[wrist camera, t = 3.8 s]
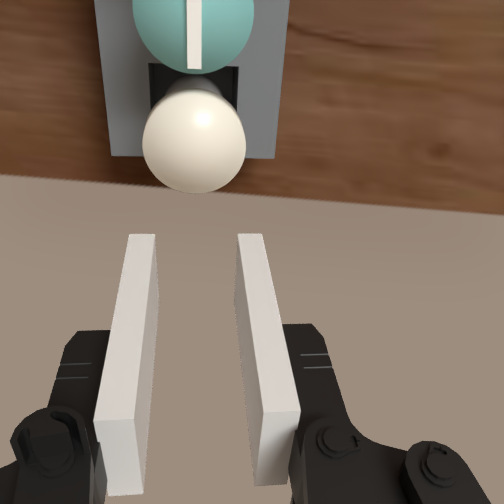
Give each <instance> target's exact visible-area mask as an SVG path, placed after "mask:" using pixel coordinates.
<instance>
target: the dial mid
mask: <svg viewBox="0 0 504 504" xmlns="http://www.w3.org/2000/svg"><path fill="white" fill-rule="evenodd" d="M132 4H133V16H134V21H135V25H136V28H137V30H138V33H139V35H140V37H141V39H142V41H143V43H144V44H145V46H146V47H147V49H148V50H149V51H150V52H151V53H152V54H153V55H154V56H155V57H156V58H157V59H158V60H159V61H161V62H162V63H163V64H165V65H166V66H168V67H170V68H172V69H174V70H177V71H180V72H184V73H189V74H204V73H210V72H213V71H216V70H218V69H220V68H223V67H224V66H226V65H227V64H229V63H230V62H231V61H232V60H234V59H235V58H236V57H237V55H238V54H239V53H240V52H241V51H242V49H243V48H244V46H245V44H246V42H247V40H248V38H249V36H250V33H251V29H252V25H253V19H254V3H253V0H132Z"/></svg>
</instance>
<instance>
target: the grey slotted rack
mask: <svg viewBox="0 0 504 504" xmlns="http://www.w3.org/2000/svg"><path fill="white" fill-rule="evenodd" d="M94 3H95V12H96V21H97V30H98V39H99V48H100V57H101V66H102V75H103V84H104V93H105V102H106V111H107V120H108V129H109V138H110V147H111V155H112V156H144V154H143V148H142V141H143V134H144V129H145V125H146V121H147V118H148V115H149V113H150V111H151V110H152V108H153V107H154V106H155V104H156V103H157V102H158V101H159V100H160V99H162V98H163V97H164V96H165V93H166V91H167V89H168V87H169V86H170V84H171V83H172V82H173V81H175V80H176V79H178V78H179V77H182V76H185V75H189V73H184V72H180V71H177V70H174V69H172V68H170V67H168V66H166V65H165V64H163V63H162V62H161V61H159V60H158V59H157V58H156V57H155V56H154V55H153V54H152V53H151V52H150V51H149V50H148V49H147V47H146V46H145V44H144V43H143V41H142V39H141V37H140V35H139V33H138V30H137V28H136V25H135V21H134V16H133V4H132V0H94ZM253 3H254V19H253V25H252V29H251V33H250V36H249V38H248V40H247V42H246V44H245V46H244V48H243V49H242V51H241V52H240V53H239V54H238V55H237V57H236V58H235V59H234V60H232V61H231V62H230V63H229V64H227V65H226V66H224V67H223V68H220V69H218V70H216V71H213V72H210V73H204V74H196V75H201V76H204V77H207V78H208V79H210V80H212V81H213V82H214V83H215V84H216V85H217V86H218V87H219V89H220V91H221V93H222V95H223V98H225V99H226V100H227V101H228V102H229V103H230V104H231V105H232V106H233V107H234V109H235V110H236V112H237V113H238V115H239V118H240V120H241V123H242V127H243V131H244V135H245V140H246V152H245V158H270V159H274V156H275V145H276V135H277V125H278V114H279V104H280V94H281V83H282V73H283V62H284V52H285V42H286V31H287V21H288V11H289V0H253Z"/></svg>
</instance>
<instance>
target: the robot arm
mask: <svg viewBox="0 0 504 504" xmlns="http://www.w3.org/2000/svg"><path fill="white" fill-rule="evenodd" d="M234 305H235V314H236V323H237V332H238V341H239V350H240V359H241V367H242V377H243V386H244V394H245V404H246V413H247V422H248V431H249V440H250V449H251V457H252V467H253V476H254V484H255V486H266V485H281V484H287V480H288V475H289V476H290V483H291V488H292V498H291V503H290V504H491V503H490V501H489V500H488V498H487V496H486V495H485V493H484V492H483V490H482V488H481V487H480V485H479V483H478V482H477V480H476V478H475V477H474V475H473V473H472V472H471V470H470V469H469V467H468V465H467V464H466V463H465V462H464V460H463V459H462V458H461V457H460V456H459V455H458V454H457V453H456V452H454V451H453V450H452V449H450V448H449V447H447V446H446V445H443V444H440V443H437V442H434V441H421V442H419V443H416V444H414V445H412V447H411V448H410V449H409V450H408V451H405V450H401V449H397V448H393V447H389V446H385V445H381V444H379V443H376V442H373V441H371V440H370V439H368V438H366V437H364V436H363V435H362V434H361V433H360V432H359V431H358V430H357V429H356V428H355V427H354V426H353V424H352V423H351V421H350V419H349V417H348V415H347V412H346V408H345V405H344V402H343V399H342V396H341V392H340V389H339V386H338V383H337V380H336V376H335V373H334V370H333V369H332V364H331V360H330V357H329V356H328V351H327V347H326V344H325V341H324V338H323V336H322V335H321V334H320V333H319V332H318V331H317V329H316V328H315V327H314V326H313V325H312V324H282V323H281V318H280V314H279V309H278V305H277V300H276V296H275V291H274V287H273V282H272V278H271V273H270V268H269V264H268V259H267V255H266V250H265V246H264V241H263V237H262V234H238V238H237V256H236V275H235V292H234ZM158 309H159V292H158V276H157V260H156V244H155V234H129V239H128V244H127V250H126V254H125V259H124V265H123V270H122V276H121V280H120V285H119V291H118V296H117V301H116V306H115V311H114V316H113V322H112V327H111V330H96V331H95V330H93V331H77V332H76V334H75V335H74V336H73V337H72V338H71V340H70V341H69V342H68V343H67V344H66V346H65V348H64V352H63V355H62V359H61V362H60V366H59V369H58V372H57V376H56V380H55V383H54V386H53V389H52V393H51V396H50V400H49V403H48V406H47V408H43V409H40V410H37V411H35V412H34V413H32V414H31V415H29V416H27V417H26V418H24V420H23V421H22V422H21V423H20V424H19V425H18V426H17V427H16V428H15V430H14V433H13V435H12V437H11V440H10V443H11V446H12V448H13V451H14V453H15V456H16V459H17V460H16V461H15V462H13V463H11V464H9V465H7V466H4V467H2V468H0V504H104V501H105V495H106V488H107V490H108V495H109V496H118V495H132V494H143V490H144V478H145V467H146V453H147V443H148V430H149V418H150V406H151V394H152V381H153V370H154V358H155V345H156V333H157V322H158V321H157V320H158Z"/></svg>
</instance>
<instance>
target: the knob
mask: <svg viewBox="0 0 504 504" xmlns="http://www.w3.org/2000/svg"><path fill="white" fill-rule="evenodd" d="M142 148H143V154H144V158H145V161H146V163H147V165H148V167H149V169H150V170H151V172H152V173H153V174H154V175H155V177H156V178H157V179H158V180H159V181H161V182H162V183H163V184H165V185H166V186H168V187H170V188H172V189H174V190H177V191H180V192H184V193H190V194H202V193H207V192H211V191H214V190H217V189H219V188H221V187H223V186H224V185H226V184H227V183H228V182H230V181H231V180H232V179H233V178H234V177H235V175H236V174H237V173H238V171H239V170H240V168H241V166H242V164H243V161H244V158H245V152H246V140H245V135H244V131H243V127H242V123H241V120H240V118H239V115H238V113H237V112H236V110H235V109H234V107H233V106H232V105H231V104H230V103H229V102H228V101H227V100H226V99H225V98H223V95H222V93H221V91H220V89H219V87H218V86H217V85H216V84H215V83H214V82H213V81H212V80H210V79H208V78H207V77H204V76H201V75H196V74H189V75H185V76H182V77H179V78H178V79H176V80H175V81H173V82H172V83H171V84H170V86H169V87H168V89H167V91H166V93H165V96H164V97H163V98H162V99H160V100H159V101H158V102H157V103H156V104H155V106H154V107H153V108H152V110H151V111H150V113H149V115H148V118H147V121H146V125H145V129H144V134H143V141H142Z"/></svg>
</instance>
